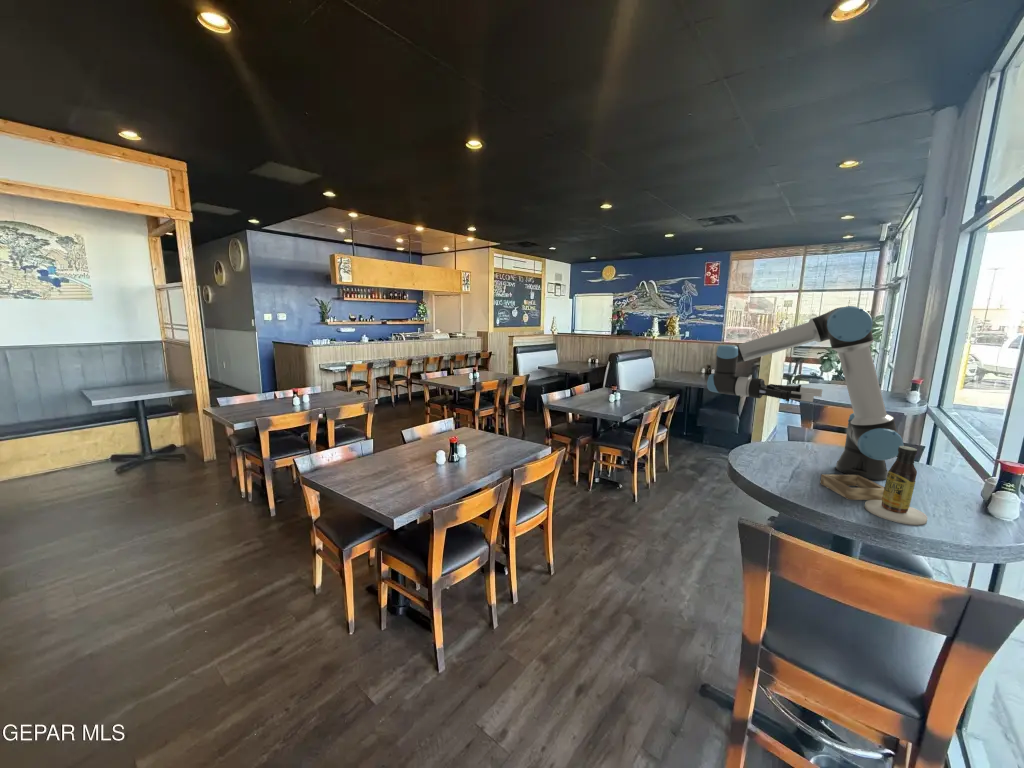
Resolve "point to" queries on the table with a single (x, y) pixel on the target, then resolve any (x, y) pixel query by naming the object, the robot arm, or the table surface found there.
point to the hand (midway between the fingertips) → (817, 395)
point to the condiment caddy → (842, 483)
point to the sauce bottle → (900, 481)
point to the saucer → (896, 514)
